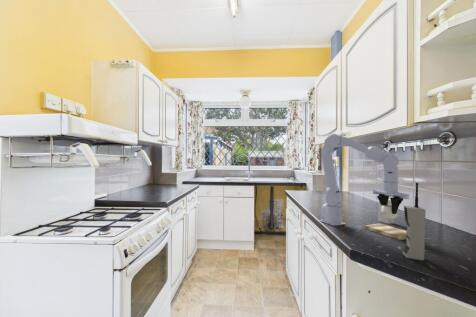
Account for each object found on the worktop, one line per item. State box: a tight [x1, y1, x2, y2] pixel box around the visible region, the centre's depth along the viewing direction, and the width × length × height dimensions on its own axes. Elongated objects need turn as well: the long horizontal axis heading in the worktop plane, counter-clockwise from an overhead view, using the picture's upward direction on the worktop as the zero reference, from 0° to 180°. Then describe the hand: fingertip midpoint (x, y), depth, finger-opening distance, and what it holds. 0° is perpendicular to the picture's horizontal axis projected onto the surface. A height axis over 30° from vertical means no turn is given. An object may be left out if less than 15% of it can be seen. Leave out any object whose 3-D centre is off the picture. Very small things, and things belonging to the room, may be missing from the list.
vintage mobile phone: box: [402, 182, 426, 261], centre depth 78 cm, size 4×5×25 cm
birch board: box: [364, 222, 407, 241], centre depth 104 cm, size 16×10×2 cm, turn 24°
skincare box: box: [377, 198, 395, 225], centre depth 121 cm, size 6×4×12 cm
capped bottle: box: [378, 205, 399, 219], centre depth 103 cm, size 4×10×5 cm, turn 115°
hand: (389, 212), depth 104 cm, fingers closed on capped bottle, 4 cm apart
